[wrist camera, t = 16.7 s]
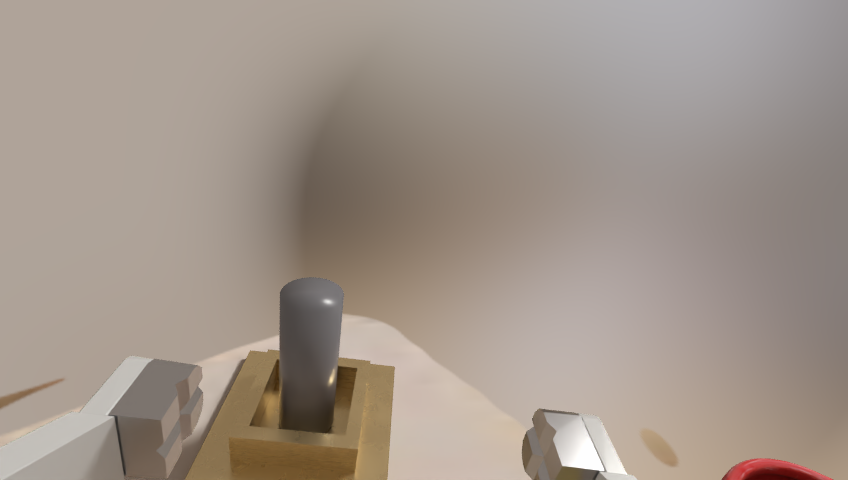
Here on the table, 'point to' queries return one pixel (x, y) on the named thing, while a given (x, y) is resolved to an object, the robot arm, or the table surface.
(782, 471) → the plant pot
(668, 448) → the table surface
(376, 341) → the table surface
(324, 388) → the grey cylinder
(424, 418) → the table surface
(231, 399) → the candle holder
